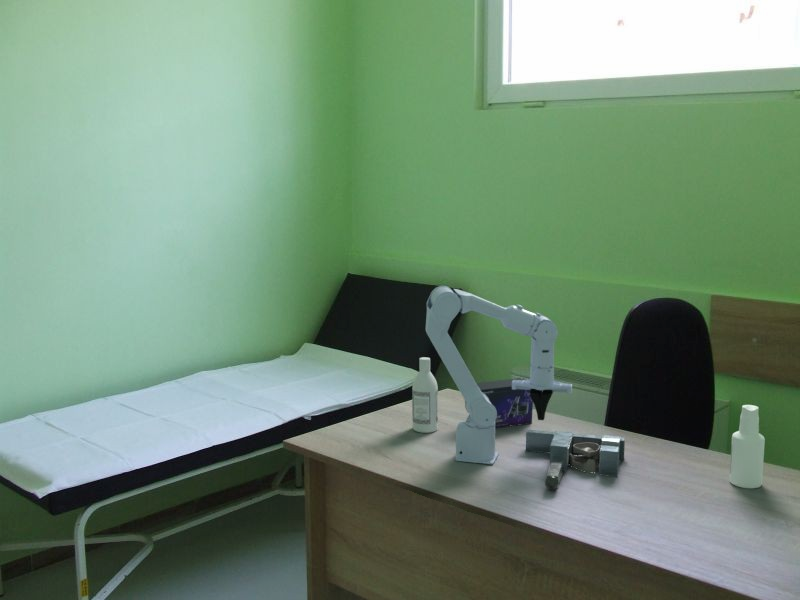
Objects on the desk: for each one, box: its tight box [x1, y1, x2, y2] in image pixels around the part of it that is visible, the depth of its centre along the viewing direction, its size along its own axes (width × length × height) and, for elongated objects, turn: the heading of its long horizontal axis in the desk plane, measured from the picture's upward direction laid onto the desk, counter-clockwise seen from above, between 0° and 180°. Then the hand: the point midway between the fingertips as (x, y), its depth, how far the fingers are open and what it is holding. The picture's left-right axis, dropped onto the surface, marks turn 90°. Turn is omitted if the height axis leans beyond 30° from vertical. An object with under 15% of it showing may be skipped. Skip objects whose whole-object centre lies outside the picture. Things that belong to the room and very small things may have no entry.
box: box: [476, 377, 534, 429], centre depth 229 cm, size 17×7×12 cm, turn 111°
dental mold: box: [569, 442, 600, 474], centre depth 198 cm, size 8×7×5 cm
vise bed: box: [525, 428, 626, 477], centre depth 201 cm, size 24×13×7 cm, turn 72°
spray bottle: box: [729, 404, 766, 489], centre depth 186 cm, size 7×7×18 cm
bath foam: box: [411, 356, 439, 434], centre depth 225 cm, size 7×7×20 cm
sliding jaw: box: [544, 430, 573, 490], centre depth 194 cm, size 4×24×6 cm, turn 162°
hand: (541, 418), depth 204 cm, fingers closed
